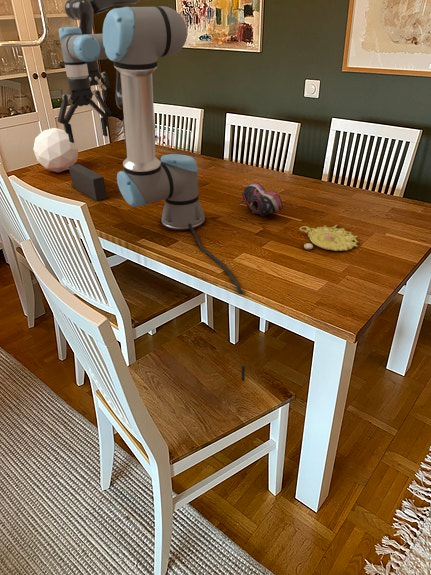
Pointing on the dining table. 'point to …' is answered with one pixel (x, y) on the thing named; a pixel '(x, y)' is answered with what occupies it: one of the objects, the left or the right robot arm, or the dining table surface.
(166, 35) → the right robot arm
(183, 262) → the dining table surface
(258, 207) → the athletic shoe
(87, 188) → the bar
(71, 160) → the sphere
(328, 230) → the decorative object
